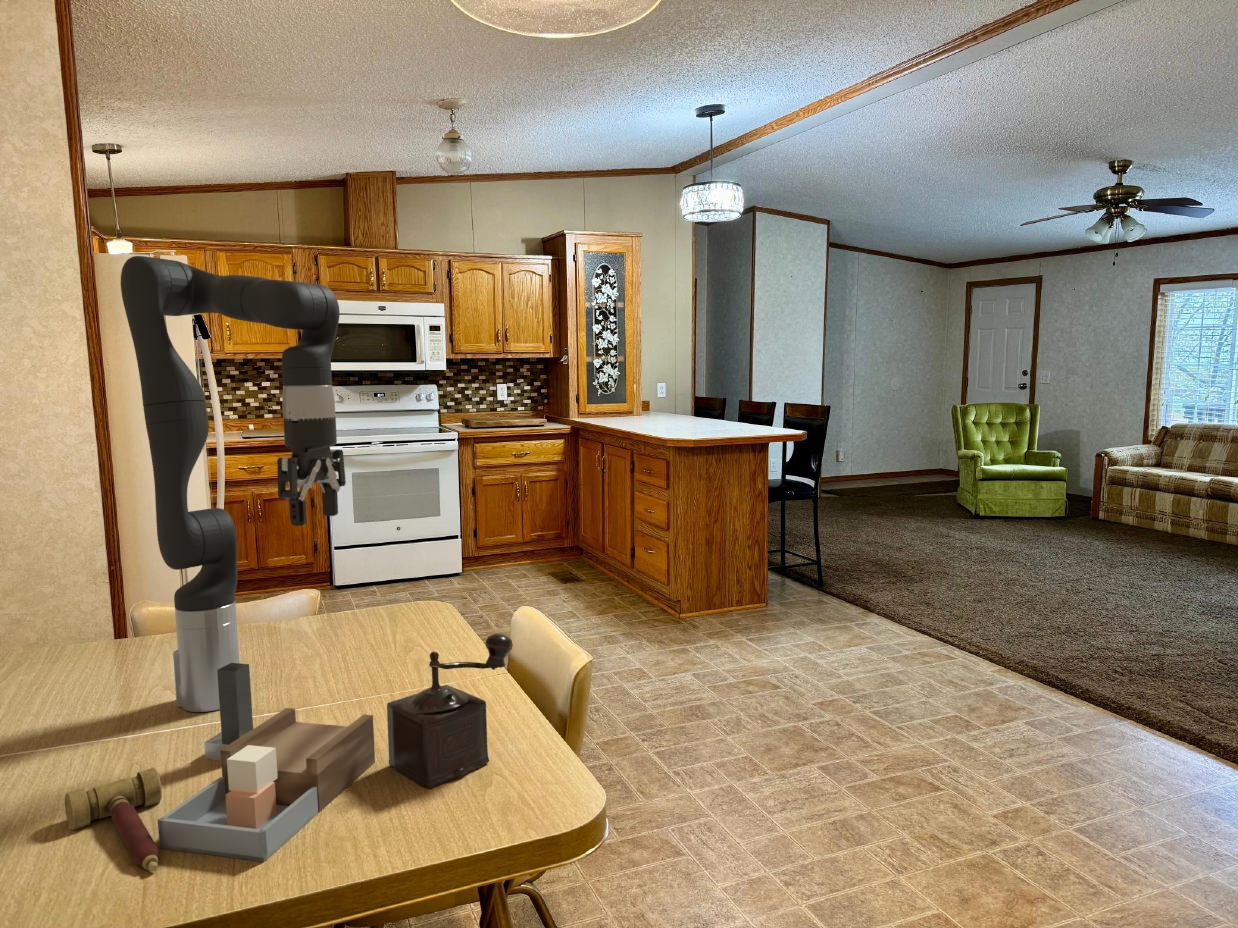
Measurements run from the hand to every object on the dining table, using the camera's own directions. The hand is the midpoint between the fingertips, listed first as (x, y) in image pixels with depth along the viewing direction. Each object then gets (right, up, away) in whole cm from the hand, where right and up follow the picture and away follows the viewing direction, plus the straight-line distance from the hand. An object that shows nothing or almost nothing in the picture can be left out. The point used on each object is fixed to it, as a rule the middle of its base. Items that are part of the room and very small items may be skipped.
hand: (315, 520), depth 129 cm
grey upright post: (-9, -34, -7) cm, 36 cm away
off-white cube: (+1, -31, -25) cm, 40 cm away
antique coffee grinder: (+23, -34, -9) cm, 42 cm away
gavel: (-12, -37, -28) cm, 48 cm away
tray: (+1, -36, -27) cm, 45 cm away
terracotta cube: (+2, -33, -24) cm, 41 cm away
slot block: (+4, -35, -15) cm, 38 cm away
